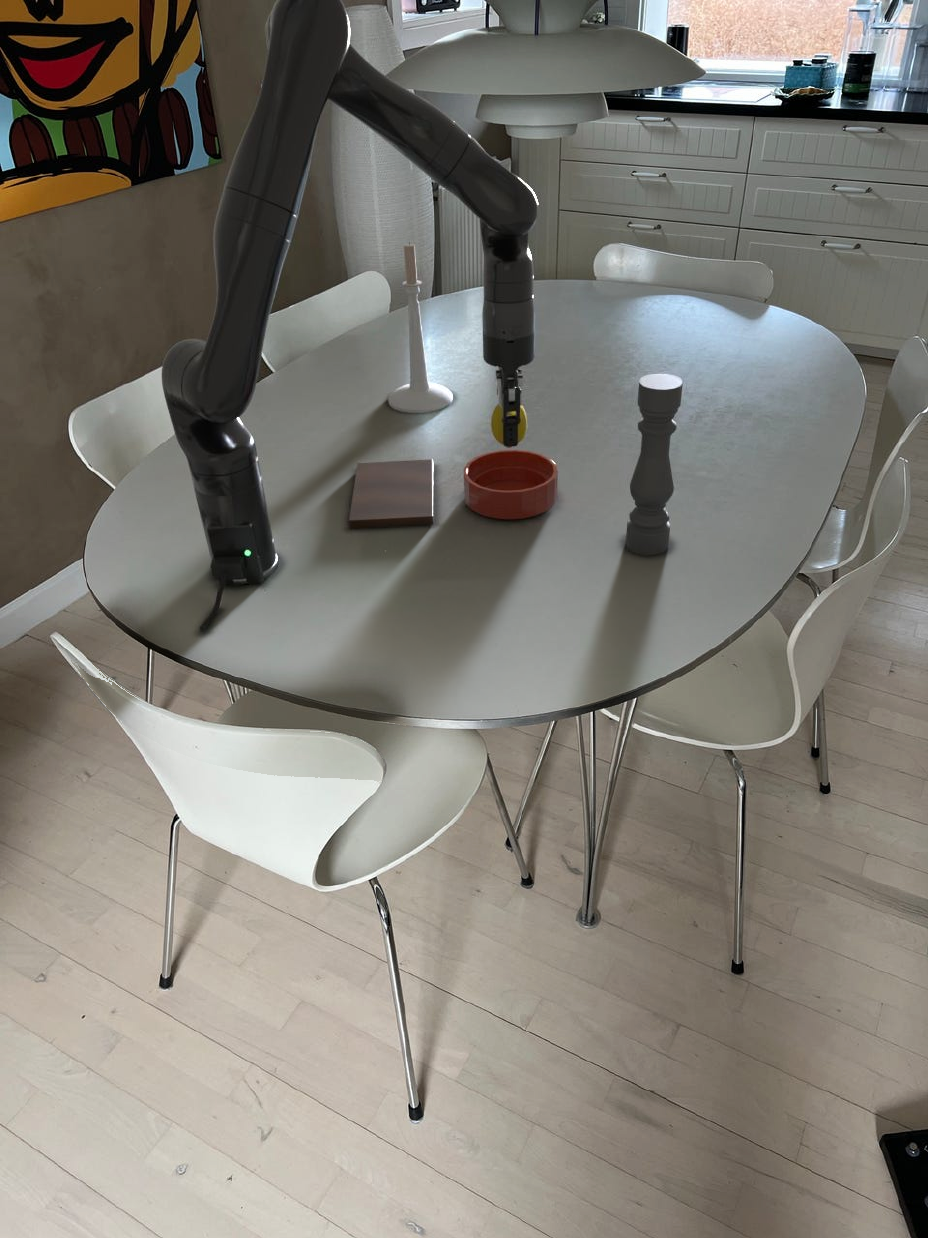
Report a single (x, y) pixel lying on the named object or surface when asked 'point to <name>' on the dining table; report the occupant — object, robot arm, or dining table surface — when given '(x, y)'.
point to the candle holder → (653, 464)
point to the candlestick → (417, 355)
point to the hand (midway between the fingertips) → (509, 436)
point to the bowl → (510, 484)
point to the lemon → (498, 425)
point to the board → (392, 494)
